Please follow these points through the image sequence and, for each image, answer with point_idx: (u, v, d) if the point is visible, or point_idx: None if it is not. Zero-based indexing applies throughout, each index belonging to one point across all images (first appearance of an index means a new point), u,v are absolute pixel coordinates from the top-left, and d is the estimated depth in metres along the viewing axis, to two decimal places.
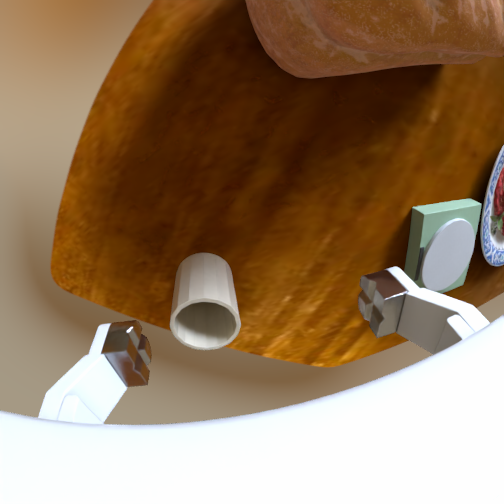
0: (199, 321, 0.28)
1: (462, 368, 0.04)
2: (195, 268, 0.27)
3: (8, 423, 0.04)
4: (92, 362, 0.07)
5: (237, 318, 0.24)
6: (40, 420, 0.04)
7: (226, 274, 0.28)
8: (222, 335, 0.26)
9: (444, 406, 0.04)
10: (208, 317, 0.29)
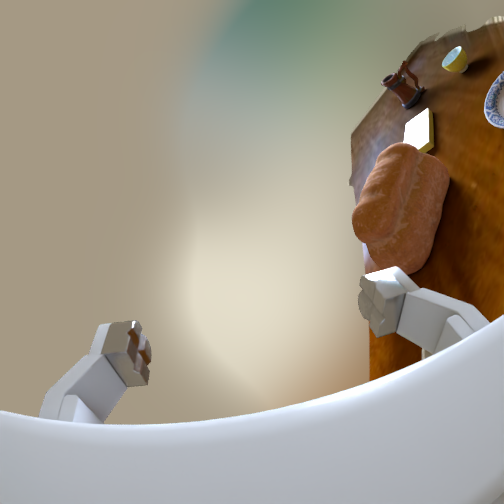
0: None
1: (462, 368, 0.04)
2: None
3: (8, 423, 0.04)
4: (92, 362, 0.07)
5: None
6: (40, 420, 0.04)
7: None
8: None
9: (444, 406, 0.04)
10: None
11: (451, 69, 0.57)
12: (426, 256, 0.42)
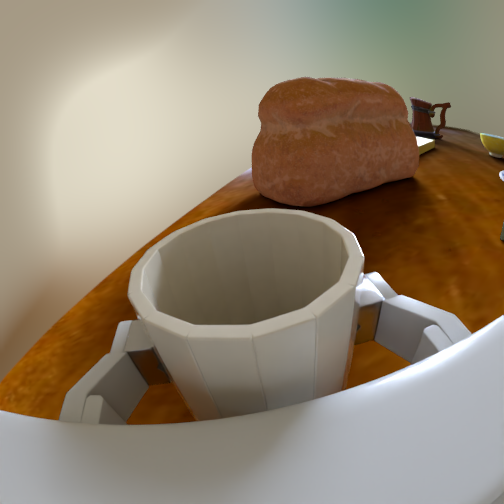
0: None
1: (462, 368, 0.04)
2: None
3: (8, 423, 0.04)
4: (115, 360, 0.07)
5: (333, 223, 0.08)
6: (40, 420, 0.04)
7: None
8: None
9: (444, 406, 0.04)
10: None
11: (486, 142, 0.54)
12: (321, 197, 0.29)
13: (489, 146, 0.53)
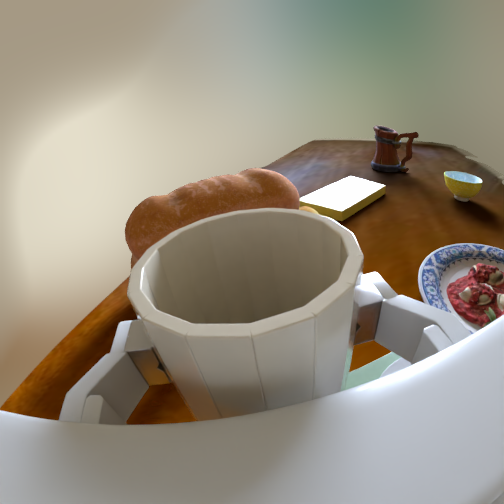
0: None
1: (462, 368, 0.04)
2: None
3: (8, 423, 0.04)
4: (115, 360, 0.07)
5: (332, 223, 0.08)
6: (40, 420, 0.04)
7: None
8: None
9: (444, 406, 0.04)
10: None
11: (449, 184, 0.57)
12: None
13: (452, 189, 0.56)
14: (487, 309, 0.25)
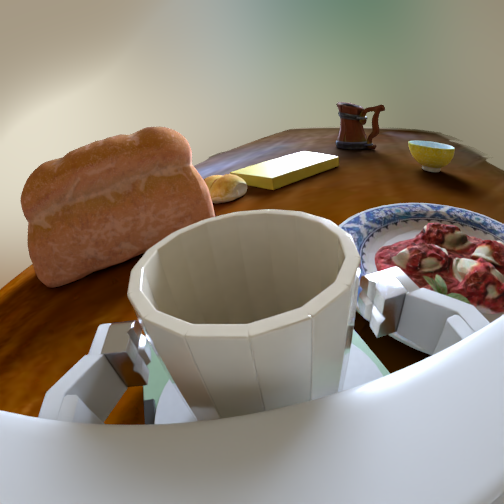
0: None
1: (462, 368, 0.04)
2: None
3: (8, 423, 0.04)
4: (92, 362, 0.07)
5: (330, 224, 0.08)
6: (40, 420, 0.04)
7: None
8: None
9: (444, 406, 0.04)
10: None
11: (413, 152, 0.52)
12: (52, 282, 0.27)
13: (418, 158, 0.51)
14: (435, 278, 0.20)
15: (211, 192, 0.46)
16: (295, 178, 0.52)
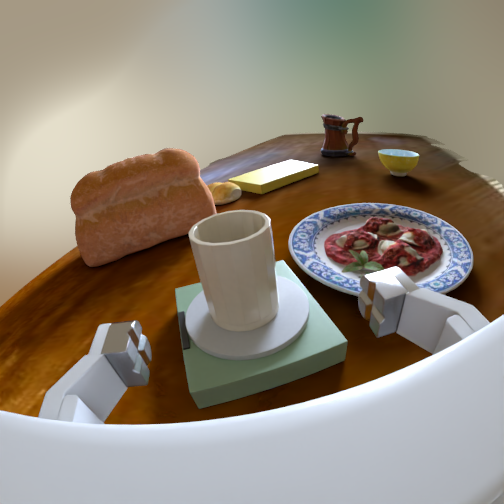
0: None
1: (462, 368, 0.04)
2: None
3: (8, 423, 0.04)
4: (92, 362, 0.07)
5: (264, 215, 0.22)
6: (40, 420, 0.04)
7: None
8: None
9: (444, 406, 0.04)
10: None
11: (382, 160, 0.66)
12: (96, 262, 0.41)
13: (385, 165, 0.65)
14: None
15: (213, 196, 0.59)
16: (280, 184, 0.66)
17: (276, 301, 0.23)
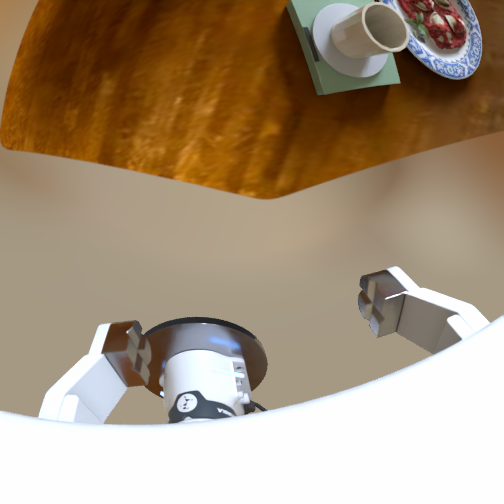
0: None
1: (462, 368, 0.04)
2: None
3: (8, 423, 0.04)
4: (92, 362, 0.07)
5: (405, 25, 0.19)
6: (40, 420, 0.04)
7: (376, 22, 0.23)
8: (395, 47, 0.21)
9: (444, 406, 0.04)
10: None
11: None
12: None
13: None
14: (420, 12, 0.25)
15: None
16: None
17: None
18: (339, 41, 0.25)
